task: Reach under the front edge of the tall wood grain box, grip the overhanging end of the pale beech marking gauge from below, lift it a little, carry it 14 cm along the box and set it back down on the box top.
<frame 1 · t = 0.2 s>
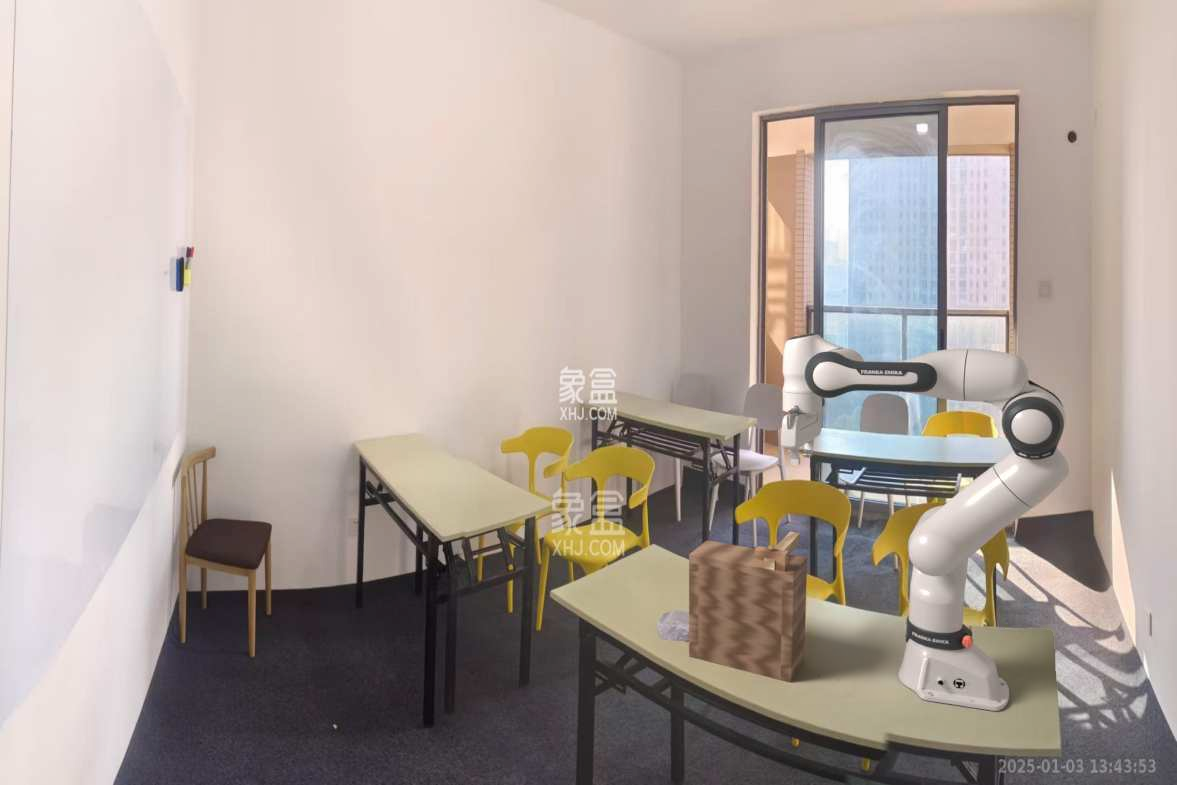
hand: (801, 461, 185), 48 cm above the table, fingers open, 8 cm apart
marking gauge: (782, 554, 184), point 26 cm above the table, touching wood grain box
lavender lumpy chunk: (676, 632, 203), on the table
wood grain box: (746, 658, 188), on the table
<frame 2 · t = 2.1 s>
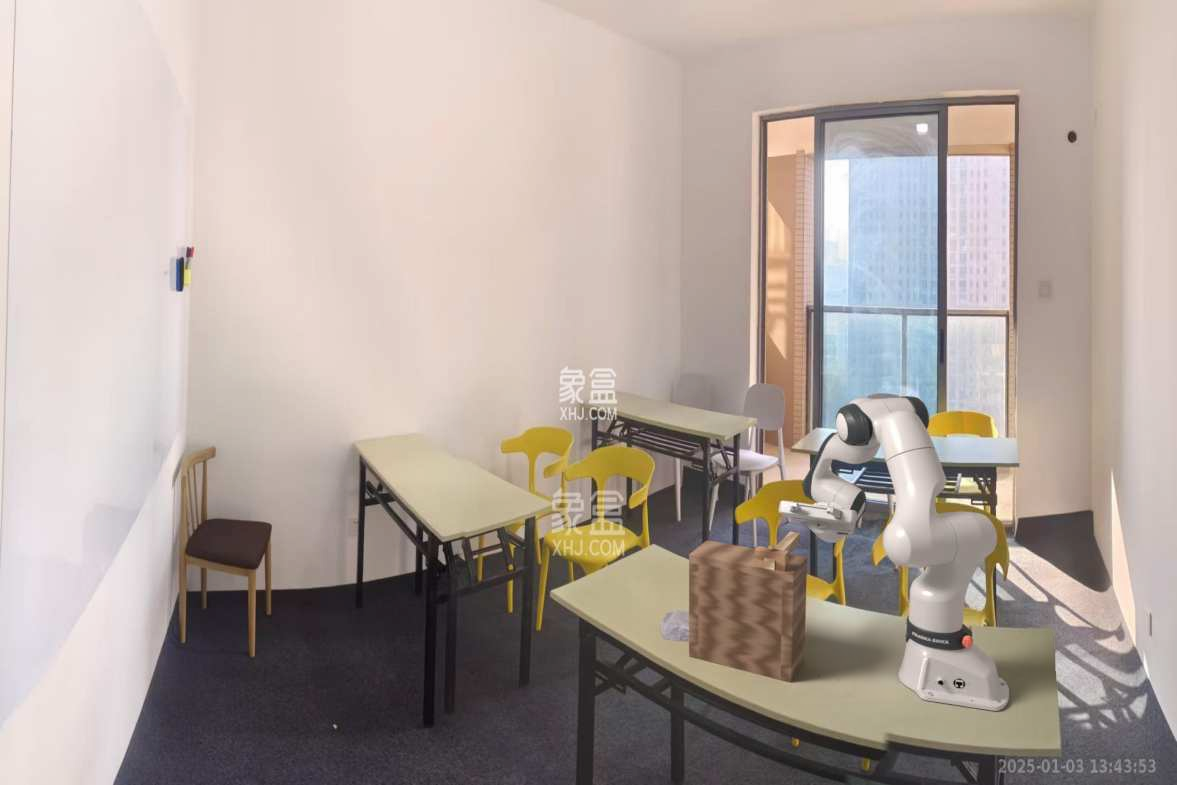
hand: (811, 507, 205), 31 cm above the table, fingers open, 8 cm apart
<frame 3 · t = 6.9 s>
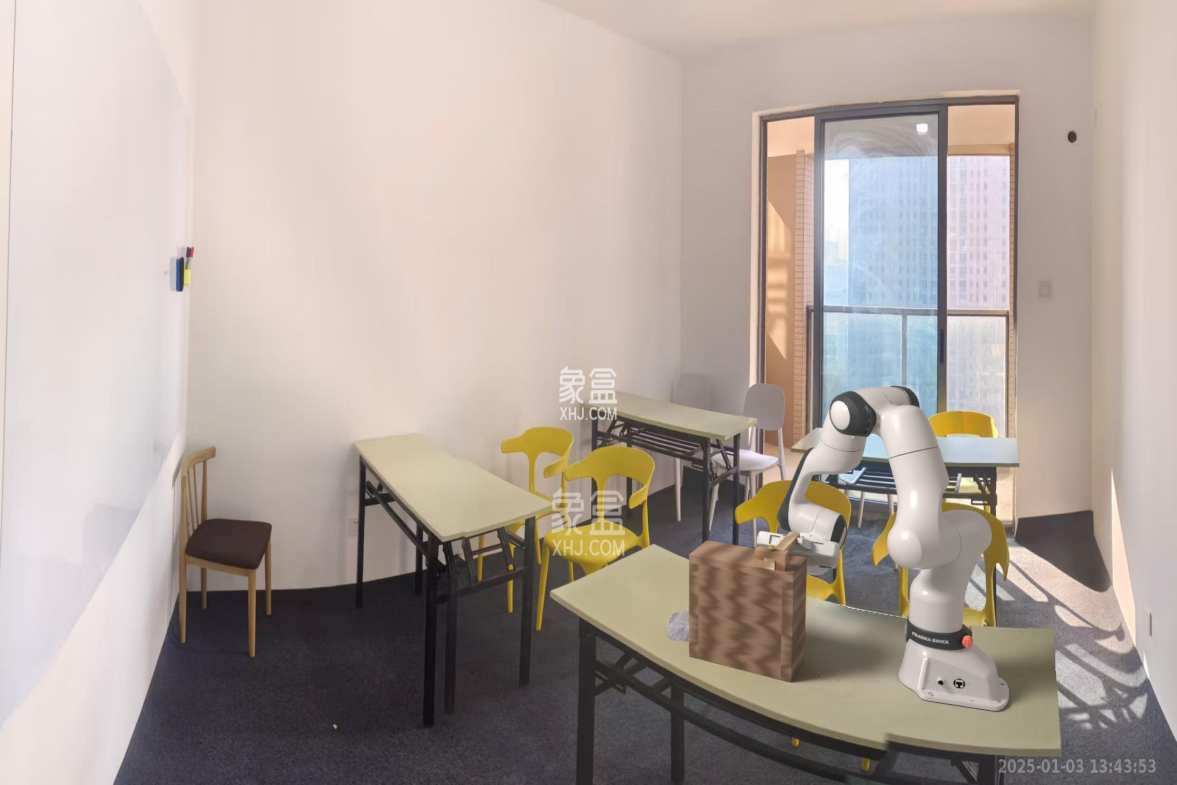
hand: (791, 539, 190), 28 cm above the table, fingers closed on marking gauge, 2 cm apart
marking gauge: (782, 554, 184), point 26 cm above the table, touching gripper, wood grain box
lavender lumpy chunk: (685, 632, 203), on the table
when the fingers open (29 cm above the table, at t = 10.9 s): marking gauge stays where it is, resting on wood grain box.
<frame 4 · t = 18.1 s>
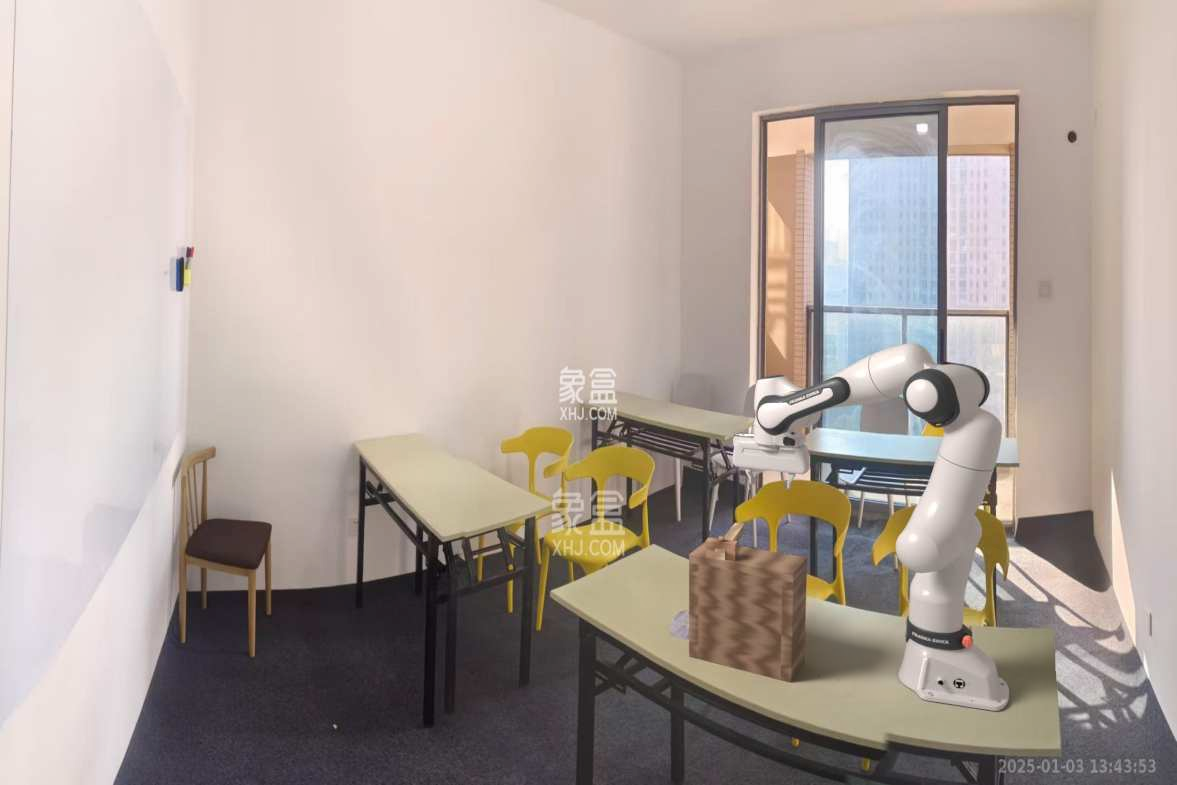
hand: (769, 486, 208), 35 cm above the table, fingers open, 8 cm apart
marking gauge: (730, 545, 191), point 26 cm above the table, touching wood grain box
lavender lumpy chunk: (690, 630, 204), on the table
at the end: marking gauge inside the target area (1.0 cm from its centre), point 26.0 cm above the table; marking gauge tilted 0°; the gripper is holding nothing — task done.
